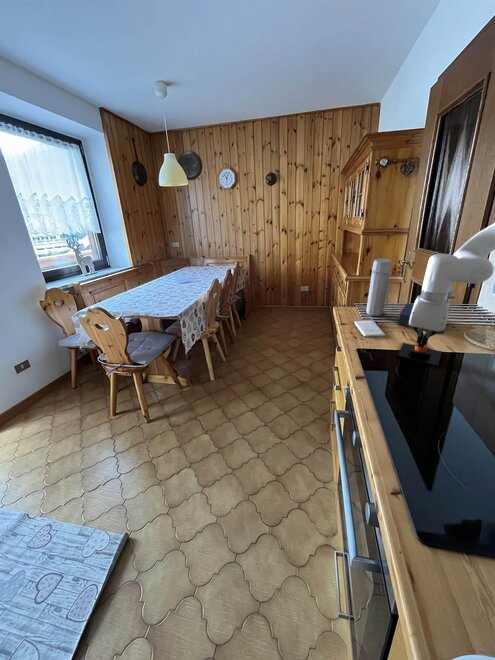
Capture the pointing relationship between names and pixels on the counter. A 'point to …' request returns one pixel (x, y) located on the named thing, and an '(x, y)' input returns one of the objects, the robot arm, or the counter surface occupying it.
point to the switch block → (420, 355)
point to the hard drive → (369, 328)
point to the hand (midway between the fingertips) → (421, 345)
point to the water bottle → (378, 287)
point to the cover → (407, 310)
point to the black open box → (405, 321)
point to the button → (421, 348)
